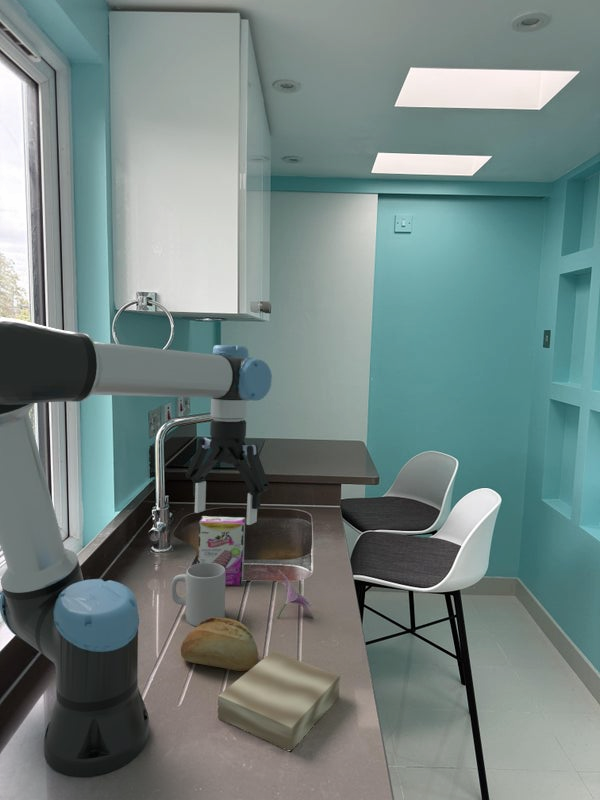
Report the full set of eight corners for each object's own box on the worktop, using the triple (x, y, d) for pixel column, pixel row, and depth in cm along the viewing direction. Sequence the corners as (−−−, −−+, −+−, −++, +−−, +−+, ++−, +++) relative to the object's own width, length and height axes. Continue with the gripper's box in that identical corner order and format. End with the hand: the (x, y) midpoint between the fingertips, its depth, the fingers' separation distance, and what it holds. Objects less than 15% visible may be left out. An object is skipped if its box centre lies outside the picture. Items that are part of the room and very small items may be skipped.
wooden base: (290, 752, 87) (291, 727, 87) (217, 718, 94) (218, 695, 94) (338, 697, 101) (339, 675, 101) (272, 671, 108) (272, 651, 108)
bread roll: (189, 645, 116) (190, 607, 115) (262, 653, 114) (264, 614, 114) (173, 673, 107) (173, 632, 106) (253, 681, 105) (254, 640, 104)
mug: (228, 610, 131) (229, 563, 130) (219, 629, 123) (220, 579, 122) (177, 605, 132) (177, 559, 131) (164, 624, 124) (165, 575, 123)
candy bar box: (197, 586, 143) (198, 521, 141) (200, 577, 148) (201, 515, 146) (242, 587, 143) (244, 522, 141) (244, 578, 148) (245, 516, 146)
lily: (309, 637, 123) (328, 594, 125) (259, 613, 123) (278, 571, 125) (304, 627, 134) (321, 587, 136) (258, 605, 135) (276, 566, 137)
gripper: (288, 423, 119) (284, 523, 121) (193, 411, 131) (190, 503, 133) (269, 427, 112) (264, 533, 115) (171, 414, 124) (168, 510, 126)
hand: (225, 517), depth 124 cm, fingers open, 13 cm apart
